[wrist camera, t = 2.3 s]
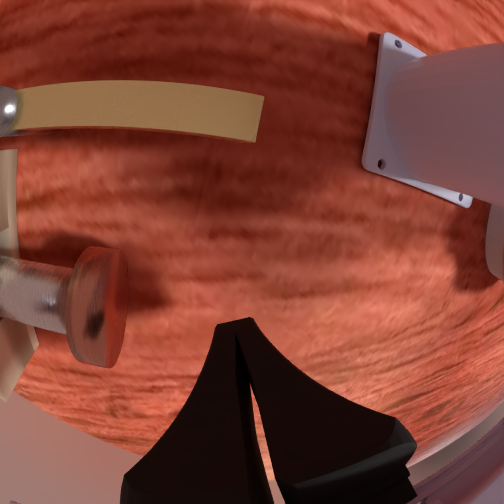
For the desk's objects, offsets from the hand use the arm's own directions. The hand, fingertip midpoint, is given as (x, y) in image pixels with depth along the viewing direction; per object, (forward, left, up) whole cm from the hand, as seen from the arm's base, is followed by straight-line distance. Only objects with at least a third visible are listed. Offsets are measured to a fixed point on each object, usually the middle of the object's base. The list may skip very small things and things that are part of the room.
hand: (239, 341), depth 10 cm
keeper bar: (+6, -8, -4) cm, 10 cm away
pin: (+9, 0, -3) cm, 10 cm away
